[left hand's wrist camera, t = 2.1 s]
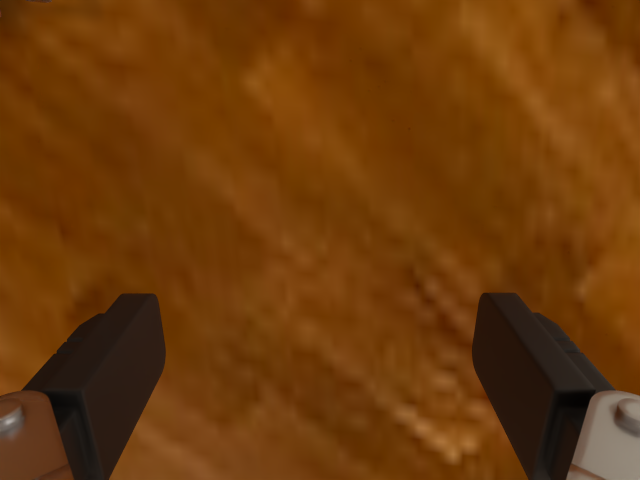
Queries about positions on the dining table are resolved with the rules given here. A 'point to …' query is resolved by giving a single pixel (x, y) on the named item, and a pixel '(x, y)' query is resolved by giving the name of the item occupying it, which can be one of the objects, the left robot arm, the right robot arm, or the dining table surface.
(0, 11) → the drawer
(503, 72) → the dining table surface
